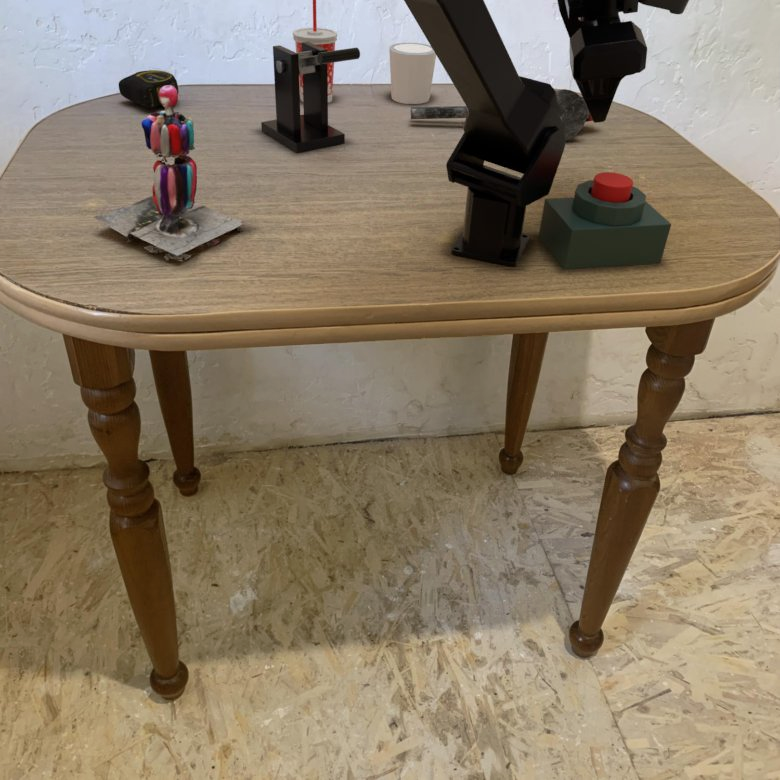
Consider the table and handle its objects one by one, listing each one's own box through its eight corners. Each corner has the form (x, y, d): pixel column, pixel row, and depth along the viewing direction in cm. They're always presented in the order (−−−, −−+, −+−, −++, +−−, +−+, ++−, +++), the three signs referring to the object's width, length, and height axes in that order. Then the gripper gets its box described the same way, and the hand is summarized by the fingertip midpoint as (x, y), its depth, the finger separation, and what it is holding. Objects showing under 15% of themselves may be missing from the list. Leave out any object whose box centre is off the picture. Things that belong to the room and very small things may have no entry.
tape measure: (119, 103, 107) (114, 74, 105) (161, 93, 111) (157, 66, 109) (147, 115, 103) (142, 86, 101) (189, 104, 107) (186, 77, 105)
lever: (361, 64, 88) (358, 41, 87) (324, 69, 85) (320, 46, 84) (314, 72, 96) (310, 51, 95) (279, 77, 94) (275, 56, 93)
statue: (244, 240, 78) (250, 92, 68) (177, 275, 72) (173, 116, 62) (165, 200, 82) (159, 54, 72) (94, 230, 75) (78, 74, 66)
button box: (564, 270, 73) (575, 211, 69) (538, 237, 78) (547, 181, 75) (660, 264, 75) (676, 206, 71) (628, 232, 80) (642, 176, 77)
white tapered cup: (441, 97, 115) (445, 47, 110) (418, 108, 110) (421, 56, 106) (402, 88, 117) (404, 39, 113) (378, 99, 113) (379, 48, 108)
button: (600, 205, 72) (604, 187, 70) (584, 190, 74) (588, 172, 73) (635, 203, 72) (640, 186, 71) (619, 188, 75) (623, 171, 74)
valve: (583, 121, 114) (610, 141, 101) (408, 123, 114) (412, 144, 101) (588, 74, 111) (616, 89, 98) (408, 77, 111) (412, 92, 97)
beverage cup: (343, 104, 110) (343, -4, 102) (301, 107, 108) (298, -3, 100) (329, 91, 115) (328, -13, 106) (289, 94, 113) (285, -12, 104)
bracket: (344, 143, 98) (345, 53, 91) (296, 153, 94) (293, 60, 88) (308, 122, 103) (305, 36, 97) (261, 131, 100) (256, 42, 93)
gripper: (722, -37, 60) (694, 139, 72) (676, -123, 72) (659, 41, 83) (575, -16, 61) (572, 153, 73) (554, -103, 73) (554, 54, 85)
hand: (593, 96), depth 79 cm, fingers open, 9 cm apart
